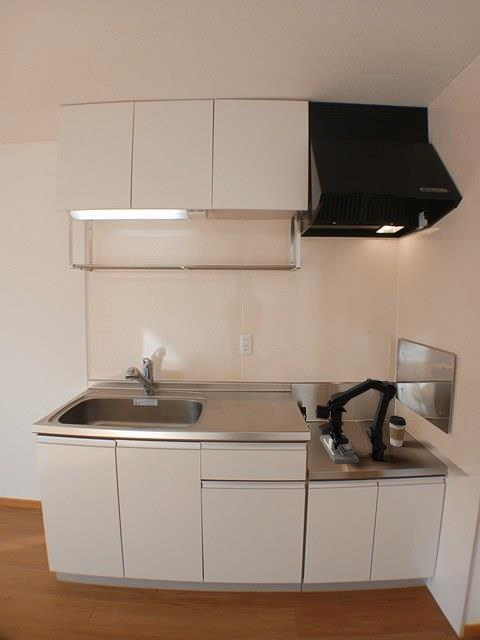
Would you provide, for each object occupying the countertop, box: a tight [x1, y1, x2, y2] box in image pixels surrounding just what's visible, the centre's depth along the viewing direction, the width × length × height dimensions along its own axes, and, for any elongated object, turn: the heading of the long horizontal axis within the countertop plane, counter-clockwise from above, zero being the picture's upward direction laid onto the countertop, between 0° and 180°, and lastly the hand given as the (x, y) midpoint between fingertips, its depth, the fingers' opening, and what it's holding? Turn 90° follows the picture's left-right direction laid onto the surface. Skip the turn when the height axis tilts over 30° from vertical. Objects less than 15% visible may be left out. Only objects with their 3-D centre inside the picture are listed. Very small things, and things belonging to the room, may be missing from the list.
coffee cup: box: [388, 415, 407, 448], centre depth 165 cm, size 8×8×15 cm
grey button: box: [343, 442, 352, 450], centre depth 154 cm, size 4×4×2 cm
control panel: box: [319, 434, 360, 464], centre depth 160 cm, size 24×12×3 cm, turn 2°
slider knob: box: [329, 439, 334, 449], centre depth 158 cm, size 4×3×4 cm
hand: (335, 448), depth 155 cm, fingers closed
